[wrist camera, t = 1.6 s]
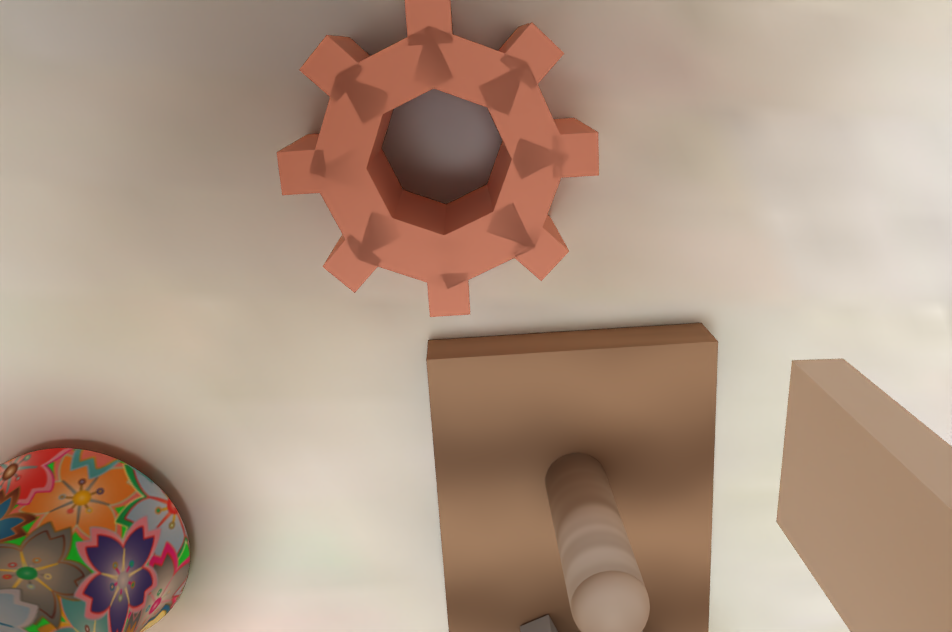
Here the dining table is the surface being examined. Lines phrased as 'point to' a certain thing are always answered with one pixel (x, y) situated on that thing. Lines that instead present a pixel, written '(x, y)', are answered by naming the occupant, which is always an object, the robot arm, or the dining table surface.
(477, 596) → the gear board
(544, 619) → the gear
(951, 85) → the dining table surface
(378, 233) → the red gear
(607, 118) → the dining table surface
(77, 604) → the mug
